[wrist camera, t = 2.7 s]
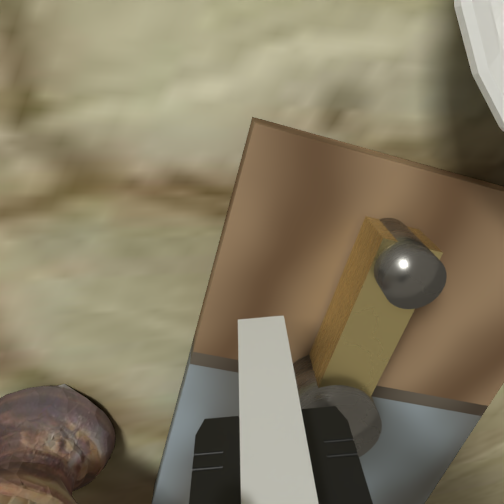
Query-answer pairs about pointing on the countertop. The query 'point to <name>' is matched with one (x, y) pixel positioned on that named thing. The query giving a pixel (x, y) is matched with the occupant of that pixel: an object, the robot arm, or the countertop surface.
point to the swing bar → (368, 322)
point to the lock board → (322, 290)
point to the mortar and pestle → (50, 444)
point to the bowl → (485, 48)
